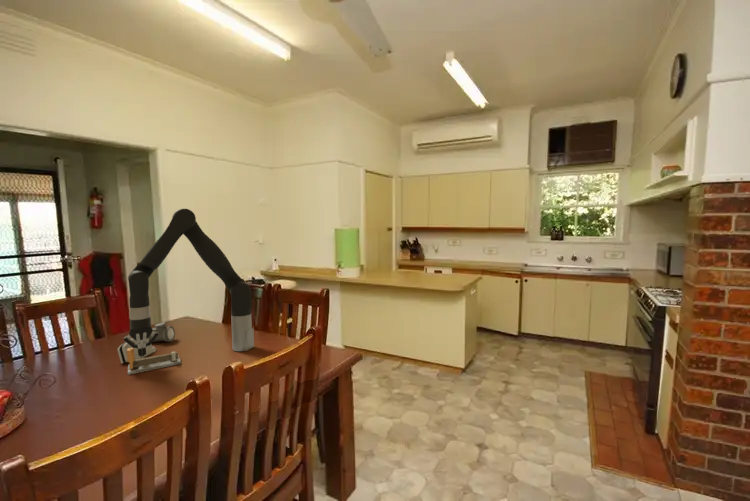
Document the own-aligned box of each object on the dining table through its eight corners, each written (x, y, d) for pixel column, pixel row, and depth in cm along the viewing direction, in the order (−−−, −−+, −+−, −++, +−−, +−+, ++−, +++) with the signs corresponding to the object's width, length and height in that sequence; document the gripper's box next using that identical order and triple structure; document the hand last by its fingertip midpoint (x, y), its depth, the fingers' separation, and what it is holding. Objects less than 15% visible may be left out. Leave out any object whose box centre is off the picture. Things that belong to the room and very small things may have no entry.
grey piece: (178, 357, 159) (178, 346, 159) (181, 364, 152) (180, 352, 152) (128, 367, 149) (127, 355, 148) (128, 374, 141) (127, 362, 141)
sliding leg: (134, 362, 149) (134, 347, 149) (134, 368, 144) (134, 352, 143) (128, 364, 148) (127, 348, 148) (127, 369, 143) (127, 353, 142)
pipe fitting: (177, 337, 188) (173, 319, 186) (169, 343, 180) (165, 325, 178) (154, 340, 187) (150, 322, 185) (146, 347, 179) (141, 328, 177)
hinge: (131, 363, 153) (123, 342, 152) (122, 367, 153) (113, 346, 153) (157, 350, 170) (149, 331, 169) (148, 353, 170) (140, 334, 169)
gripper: (120, 321, 142) (123, 362, 143) (158, 316, 149) (160, 355, 150) (121, 317, 148) (123, 356, 149) (157, 312, 155) (159, 350, 156)
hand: (142, 356), depth 150 cm, fingers closed
